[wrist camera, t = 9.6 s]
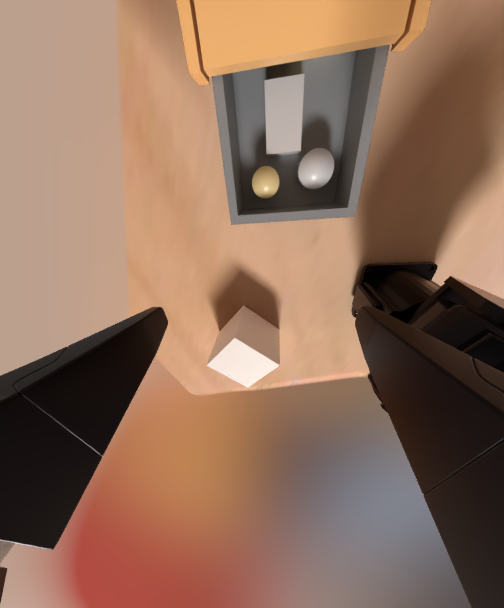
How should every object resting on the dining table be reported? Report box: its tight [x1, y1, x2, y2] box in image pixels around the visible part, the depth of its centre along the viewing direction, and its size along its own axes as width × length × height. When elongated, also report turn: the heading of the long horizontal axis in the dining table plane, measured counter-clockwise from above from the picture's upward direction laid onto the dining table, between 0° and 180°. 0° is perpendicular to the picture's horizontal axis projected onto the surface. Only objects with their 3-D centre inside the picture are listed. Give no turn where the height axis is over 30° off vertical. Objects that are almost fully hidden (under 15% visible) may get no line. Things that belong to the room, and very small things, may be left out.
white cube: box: [207, 305, 280, 388], centre depth 24 cm, size 6×6×6 cm
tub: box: [212, 45, 390, 225], centre depth 12 cm, size 9×13×4 cm
